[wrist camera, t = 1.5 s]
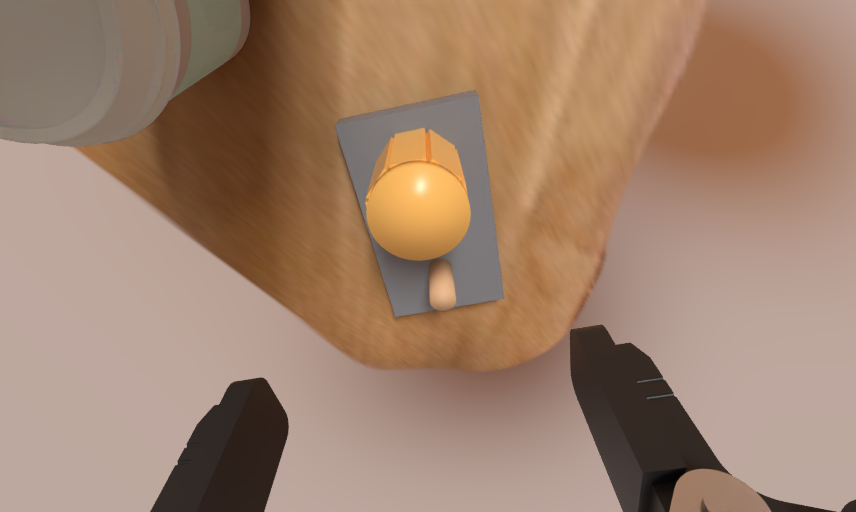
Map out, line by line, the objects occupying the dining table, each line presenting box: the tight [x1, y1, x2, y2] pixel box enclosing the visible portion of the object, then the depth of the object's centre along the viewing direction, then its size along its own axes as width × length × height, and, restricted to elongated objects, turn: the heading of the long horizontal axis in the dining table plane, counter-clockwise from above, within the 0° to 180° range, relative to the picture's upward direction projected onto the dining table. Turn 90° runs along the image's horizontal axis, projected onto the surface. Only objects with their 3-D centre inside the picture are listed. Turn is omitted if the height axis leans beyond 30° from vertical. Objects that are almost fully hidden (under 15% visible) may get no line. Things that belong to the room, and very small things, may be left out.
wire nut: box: [365, 128, 471, 261], centre depth 21 cm, size 5×5×6 cm
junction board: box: [335, 90, 504, 317], centre depth 25 cm, size 14×8×5 cm, turn 11°
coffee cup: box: [0, 0, 250, 147], centre depth 15 cm, size 9×8×12 cm
